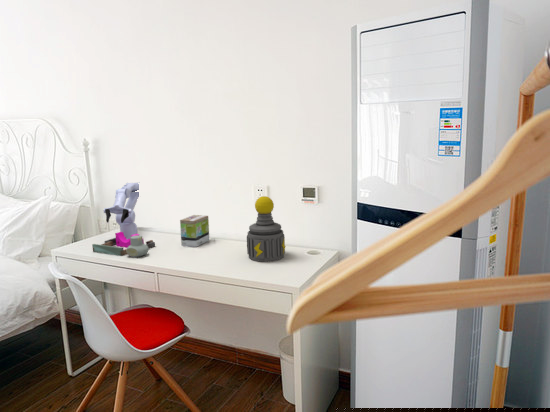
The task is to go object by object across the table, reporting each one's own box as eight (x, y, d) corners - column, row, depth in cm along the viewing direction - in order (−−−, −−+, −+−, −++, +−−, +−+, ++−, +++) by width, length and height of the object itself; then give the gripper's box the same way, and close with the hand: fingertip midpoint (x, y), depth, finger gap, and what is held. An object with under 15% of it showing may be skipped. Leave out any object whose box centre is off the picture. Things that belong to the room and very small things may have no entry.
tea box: (197, 247, 231) (195, 220, 228) (181, 246, 234) (179, 219, 231) (210, 240, 245) (208, 214, 242) (194, 239, 248) (192, 214, 245)
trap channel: (120, 240, 251) (119, 233, 250) (158, 245, 238) (158, 238, 237) (87, 250, 231) (87, 243, 230) (127, 256, 218) (127, 249, 217)
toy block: (144, 246, 237) (142, 233, 236) (135, 249, 232) (134, 235, 231) (125, 243, 245) (124, 230, 243) (116, 246, 239) (115, 233, 238)
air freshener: (124, 257, 218) (122, 238, 216) (134, 252, 225) (132, 234, 224) (141, 258, 214) (139, 239, 212) (151, 254, 221) (150, 235, 220)
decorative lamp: (277, 263, 199) (275, 200, 193) (240, 260, 205) (237, 199, 200) (290, 252, 216) (288, 193, 210) (256, 249, 222) (253, 192, 217)
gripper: (104, 198, 239) (99, 215, 229) (131, 199, 241) (127, 216, 231) (107, 207, 244) (101, 225, 234) (133, 208, 246) (128, 225, 236)
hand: (114, 221), depth 233 cm, fingers open, 7 cm apart
